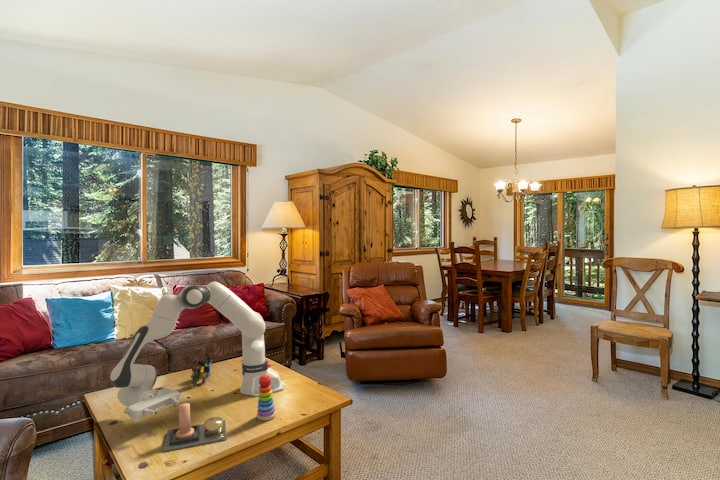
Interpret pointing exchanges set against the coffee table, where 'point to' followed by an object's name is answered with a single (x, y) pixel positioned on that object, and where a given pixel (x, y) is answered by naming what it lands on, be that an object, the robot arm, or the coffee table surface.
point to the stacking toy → (265, 399)
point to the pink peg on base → (184, 422)
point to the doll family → (201, 371)
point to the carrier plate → (197, 435)
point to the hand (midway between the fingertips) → (166, 408)
